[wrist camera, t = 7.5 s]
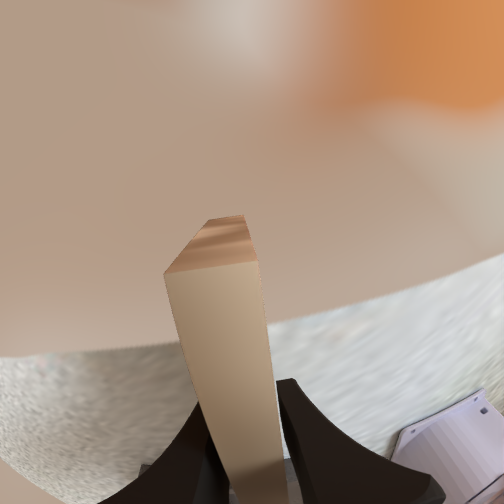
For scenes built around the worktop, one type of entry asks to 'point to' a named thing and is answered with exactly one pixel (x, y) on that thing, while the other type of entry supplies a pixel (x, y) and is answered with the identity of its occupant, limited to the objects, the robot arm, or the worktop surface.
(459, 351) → the worktop surface
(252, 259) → the birch sheet
